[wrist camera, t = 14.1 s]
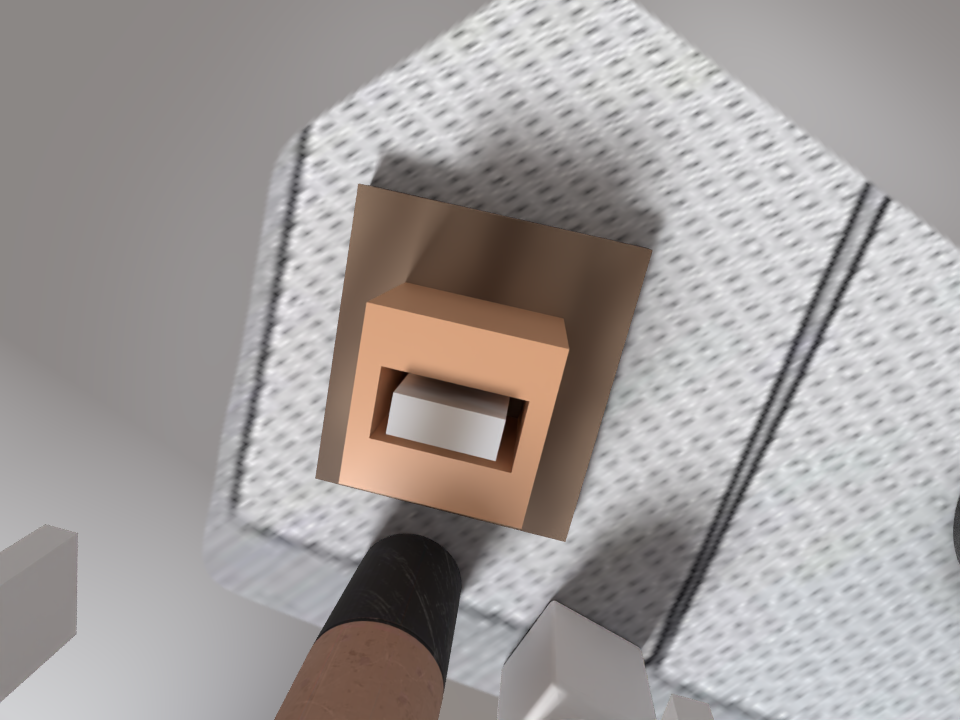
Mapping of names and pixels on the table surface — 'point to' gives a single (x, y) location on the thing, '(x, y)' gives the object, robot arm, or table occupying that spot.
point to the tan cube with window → (461, 360)
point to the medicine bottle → (574, 673)
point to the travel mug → (383, 639)
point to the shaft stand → (500, 279)
